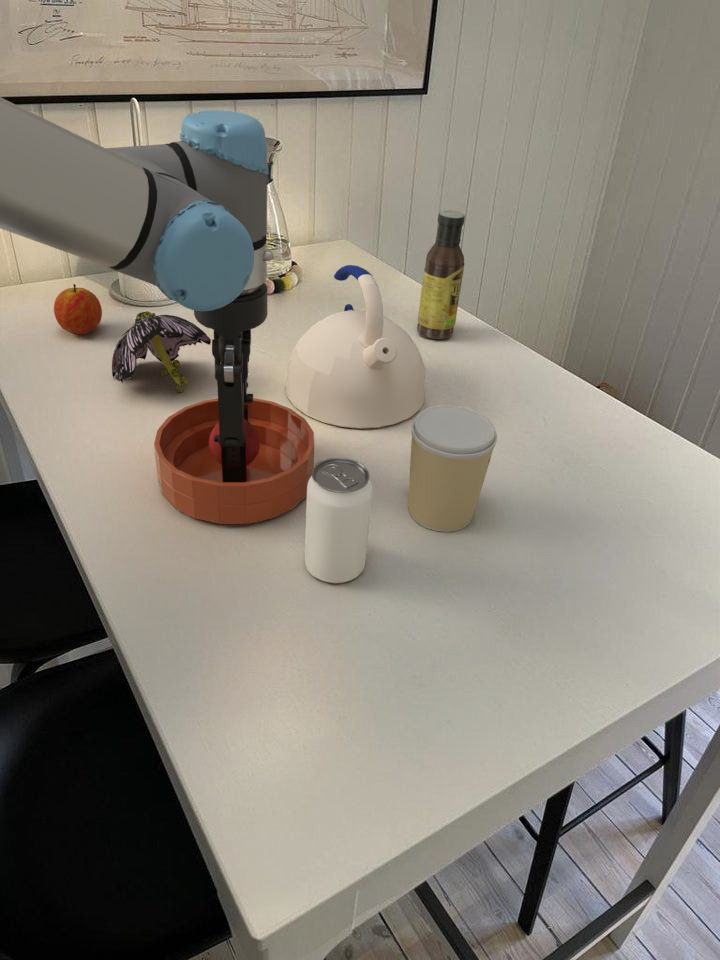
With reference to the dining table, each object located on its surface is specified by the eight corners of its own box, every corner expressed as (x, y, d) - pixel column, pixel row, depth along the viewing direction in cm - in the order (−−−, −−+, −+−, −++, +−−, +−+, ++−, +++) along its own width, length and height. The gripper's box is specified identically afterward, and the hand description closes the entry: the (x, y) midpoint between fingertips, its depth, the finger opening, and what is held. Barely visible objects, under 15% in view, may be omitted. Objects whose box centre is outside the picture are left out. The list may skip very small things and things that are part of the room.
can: (337, 536, 84) (343, 447, 77) (377, 567, 80) (387, 477, 73) (292, 560, 80) (293, 470, 73) (331, 595, 77) (337, 503, 69)
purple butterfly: (184, 288, 111) (199, 300, 97) (214, 361, 116) (232, 382, 102) (89, 324, 108) (90, 342, 95) (124, 397, 113) (130, 424, 100)
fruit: (55, 325, 119) (46, 276, 115) (100, 319, 122) (93, 272, 117) (61, 344, 114) (52, 295, 110) (108, 338, 117) (101, 289, 112)
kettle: (307, 440, 99) (312, 311, 88) (270, 365, 114) (270, 247, 103) (448, 421, 105) (468, 299, 94) (394, 352, 120) (407, 241, 109)
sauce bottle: (451, 344, 124) (470, 223, 112) (413, 338, 125) (428, 217, 113) (455, 328, 129) (473, 210, 117) (419, 322, 130) (434, 205, 118)
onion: (257, 454, 93) (257, 398, 88) (261, 482, 88) (261, 425, 83) (209, 455, 92) (207, 399, 87) (210, 484, 87) (207, 426, 82)
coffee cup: (496, 521, 88) (516, 436, 81) (432, 546, 84) (447, 458, 76) (447, 478, 94) (462, 395, 87) (385, 500, 90) (395, 414, 82)
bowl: (149, 528, 83) (143, 485, 79) (169, 435, 97) (165, 395, 94) (315, 528, 85) (316, 485, 81) (310, 437, 99) (311, 398, 95)
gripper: (265, 324, 69) (266, 517, 83) (268, 249, 84) (269, 424, 98) (182, 321, 68) (197, 517, 82) (200, 247, 83) (210, 423, 97)
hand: (236, 466), depth 90 cm, fingers closed on onion, 6 cm apart
